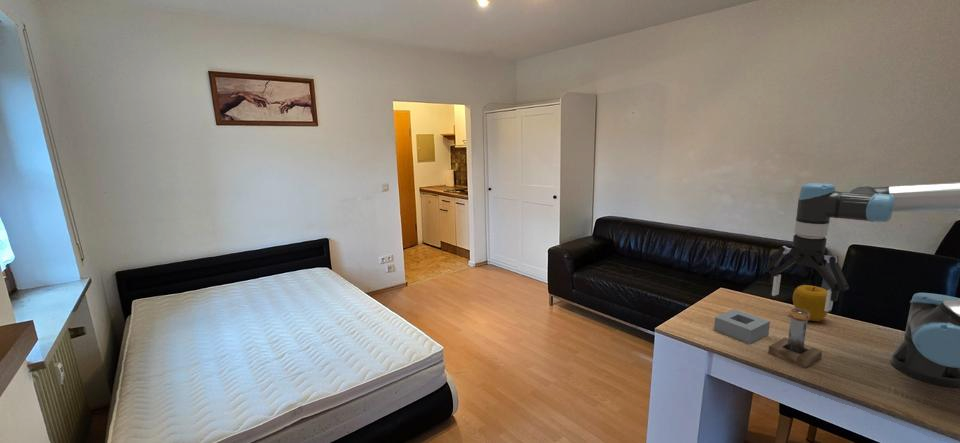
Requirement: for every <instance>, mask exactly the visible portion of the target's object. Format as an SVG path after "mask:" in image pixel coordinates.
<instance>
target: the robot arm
mask: <svg viewBox="0 0 960 443" xmlns="http://www.w3.org/2000/svg"><path fill="white" fill-rule="evenodd" d="M797 200H798V201H797V207H796V208H797V209H796V217H795V225H794V230H793V232H794V235H793V238H792V247H790V248H789V247H788V246H787V245H783V246H780V247H779V249H778V252H777V254H776V255H775V256H774V257H773V258H772V260H771V261H770V262H769V263H768V265H767V266H766V267H765V268H764V272H765V273H768V274H770V279H769V280H770V282H769V284H770V285H772V290H771V296H773V297H775V296H778V295H779V293H780V288H781V286H780V285H781V278H782V275H781V274H780V273H782V272H783V271H785V270H786V269H788V268H789V267H791V266H793V265H794V264H797V265H799V266H805V267H808V268H813V269H814V270H815V271H817V273H818V274H819V275H820V276H821V278H822V279H823V280H824V281H825V284H827V286H828V288H829V289H827V297H826V303H825V309H824V311H827V312H830V311H832V309H833V305H834V304H833V303H834V302H836V301H838V299H839V296H840V292H843V291H844V292H845V291H846V290H849V289H850V286H849V284H848V282H847V280H846V277H845V275H844V273H843V271H842V268H841V266H840V264H839V255H837V254H835V255H826V253H825V252H826V246H827V238H826V237H828V232H829V227H830V220H831V218H832V219H845V220H855V221H856V220H857V221H865V222H870V223H873V222H876V223H877V222H878V223H879V222H880V223H886V222H889V221H890V220H891V219H892V215H893V213H905V212H906V213H909V212H910V213H911V212H913V213H914V212H920V213H921V212H958V211H960V182H957V181H956V182H944V183H943V182H942V183H940V182H939V183H925V184H907V185H904V184H903V185H888V186H874V187H873V186H869V185H868V186H866V185H865V186H858V187H855V188H853V189H852V190H850V191H849V192H848V191H846V192H845V191H837V190H836V186H835V185H834V184H831V183H823V182H822V183H821V182H809V183H804V184H803V185H801V187H800V192H799V196H798V199H797ZM787 254H790V255H791V257H792V258H789V259H788V261H786V262H785V263H783V264H781V265H780V266H778V267H777V265H778V264H779V263H780V262H781V261H782V259H783V258H784V257H785V256H786V255H787ZM823 261H826V262H827V263H828V264H829V267H830V270H831V272H832V274H831V272H829V270H828V269H827V268H826V265H825V263H824V262H823ZM776 267H777V268H776ZM832 275H833V276H832ZM909 303H910V307H909V312H908V316H907V321H906V327H905V332H904V338H903V340H902V341H901V342H900V344H899V345H898V346H897V347H896V348H895V350H894V351H893V352H892V354H891V358H890V364H891V365H892V366H893V367H894V368H895V369H897V370H898V371H900V372H901V373H903V374H905V375H907V376H909V377H912V378H914V379H917V380H919V381H923V382H925V383H929V384H932V385H937V386H941V387H942V386H943V387H949V388H960V298H959V297H955V296H950V295H945V294H938V293H932V292H931V293H929V292H917V293H914V294H913V296H912V298H911V300H910V301H909Z"/></svg>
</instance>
